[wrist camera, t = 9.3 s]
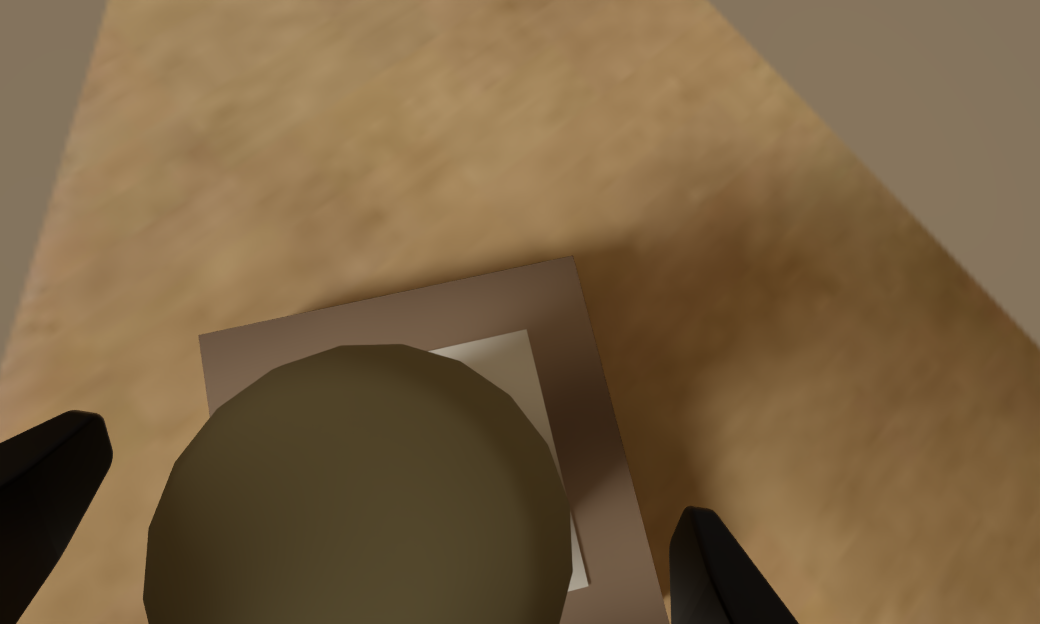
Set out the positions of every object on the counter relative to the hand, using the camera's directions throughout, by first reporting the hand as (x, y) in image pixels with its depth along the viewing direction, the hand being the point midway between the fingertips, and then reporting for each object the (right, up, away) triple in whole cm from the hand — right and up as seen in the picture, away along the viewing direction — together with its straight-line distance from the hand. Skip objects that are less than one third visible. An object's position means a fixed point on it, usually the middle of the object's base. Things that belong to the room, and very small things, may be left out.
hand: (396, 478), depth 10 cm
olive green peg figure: (-1, -2, +8) cm, 8 cm away
